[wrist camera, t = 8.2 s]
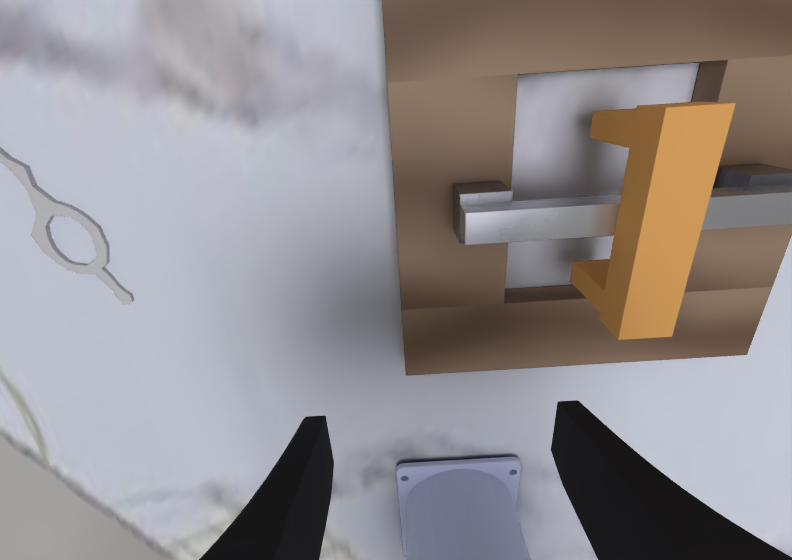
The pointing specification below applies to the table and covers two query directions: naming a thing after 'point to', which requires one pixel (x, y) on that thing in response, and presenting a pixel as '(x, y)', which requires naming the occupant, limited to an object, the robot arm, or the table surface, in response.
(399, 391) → the table surface
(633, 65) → the brown wooden frame
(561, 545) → the table surface
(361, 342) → the table surface
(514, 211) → the hook bar
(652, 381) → the table surface
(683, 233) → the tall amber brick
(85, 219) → the scissors
